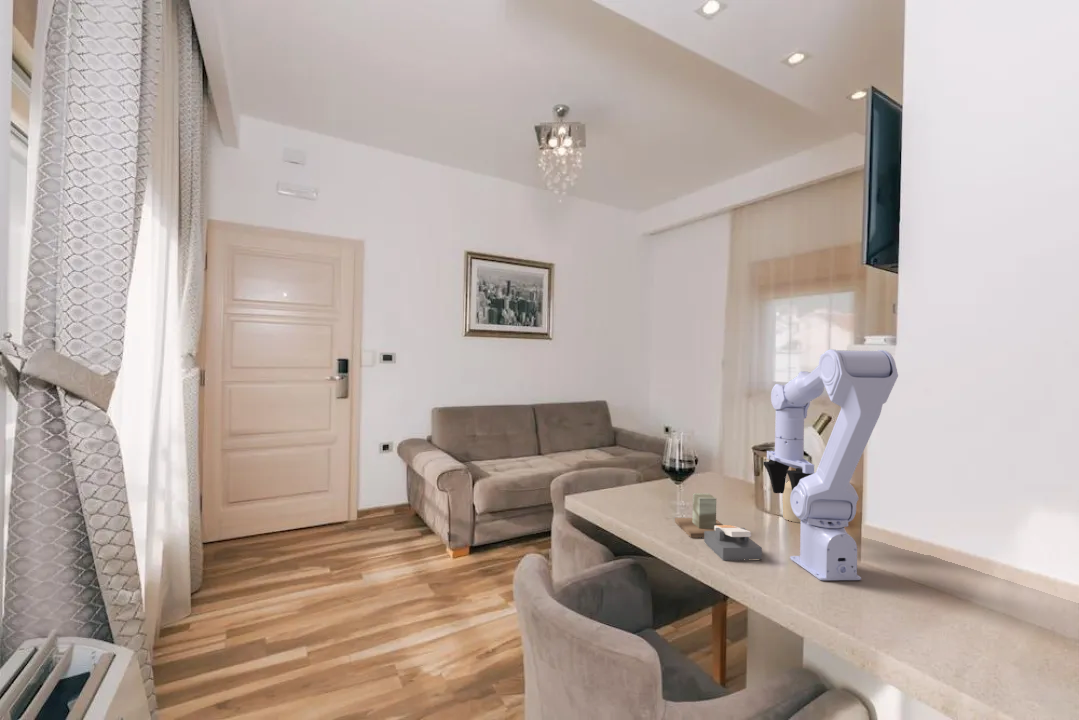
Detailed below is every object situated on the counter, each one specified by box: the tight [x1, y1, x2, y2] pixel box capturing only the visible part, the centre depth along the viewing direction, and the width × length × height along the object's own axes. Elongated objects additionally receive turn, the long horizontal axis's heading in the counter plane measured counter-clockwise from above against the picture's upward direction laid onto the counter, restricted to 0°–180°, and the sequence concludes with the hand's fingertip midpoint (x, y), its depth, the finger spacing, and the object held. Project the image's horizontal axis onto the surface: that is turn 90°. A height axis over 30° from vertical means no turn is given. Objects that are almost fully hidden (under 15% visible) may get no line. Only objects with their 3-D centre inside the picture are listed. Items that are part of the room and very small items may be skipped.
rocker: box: [714, 524, 752, 538], centre depth 95 cm, size 8×4×1 cm, turn 3°
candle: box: [782, 481, 801, 524], centre depth 116 cm, size 6×6×10 cm
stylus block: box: [691, 492, 717, 528], centre depth 107 cm, size 4×4×7 cm
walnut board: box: [674, 517, 724, 539], centre depth 107 cm, size 10×10×1 cm
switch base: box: [703, 527, 763, 561], centre depth 95 cm, size 9×8×4 cm
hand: (788, 497), depth 102 cm, fingers open, 7 cm apart
